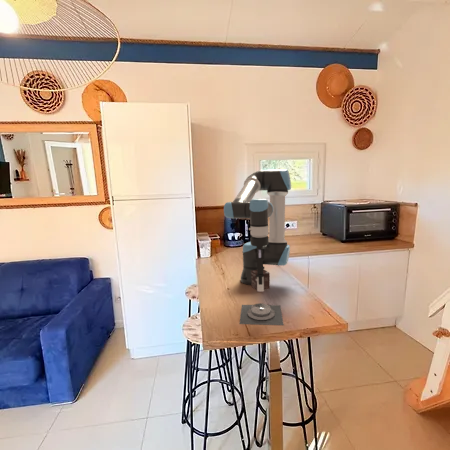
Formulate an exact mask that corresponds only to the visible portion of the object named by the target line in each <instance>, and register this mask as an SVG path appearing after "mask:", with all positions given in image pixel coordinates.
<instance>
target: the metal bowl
mask: <svg viewBox="0 0 450 450" xmlns="http://www.w3.org/2000/svg"><path fill="white" fill-rule="evenodd" d="M252 305H253V306H252V307H251V308H250V309H249V310H248V312H247V314H248V317H249V318H251V319H253V320H257V321H267V320H270V319H272V318H274V316H275V312H274V310H273V309H271V307H270V306H269V305H270V304H267V303H255V304H252Z"/></svg>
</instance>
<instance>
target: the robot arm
mask: <svg viewBox="0 0 450 450" xmlns="http://www.w3.org/2000/svg"><path fill="white" fill-rule="evenodd" d="M291 189H292V182H291V176H290V172H289V170H288V169H286V168H277V169H275V168H274V169H260V170H258V171H255V172H253V173H252V174H250V175H249V176H247V177H246V179H245V180H244V182H243V185H242V187H241V189H240V191H239V192H238V194H237V195H236V197H235V198H234V200H233V201H227V202H225V203H224V206H223V214H224V217H225V218H226V219H249V220H250V221H249V224H250V227H249V228H248V230H249V231H250V232H249V233H250V241H248V242H246V243H244V244H243V245H242V270H241V275H240V282H241V283H242V284H244V285H250V286H251V271H253V270H257V275H255V277H257V290H256V292H265V290H264V275H263V269H264V270H265V266H277V267H280V266H283V267H284V266H286V265H287V264H288V262H289V258H290V253H291V246H290V244H288V241H287V240H286V239H285V237H286V236H285V235H286V234H285V230H286V227H285V225H286V224H285V223H286V196H287V195H288V194H289V191H290V190H291ZM260 191H261V192H263V191H266V194H267V195H268V196H269V201H268V199H267V198H254V197H255V195H256V194H257V193H258V192H260ZM264 265H265V266H264Z"/></svg>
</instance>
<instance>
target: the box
mask: <svg viewBox="0 0 450 450" xmlns="http://www.w3.org/2000/svg"><path fill="white" fill-rule="evenodd" d="M270 274H271V273H270V272H269V271H268V270H266V269H265V268H264V269H263V275H264V291H266V290H270V289H271V288H270V287H271V285H270V284H271V280H270ZM255 275H257V270H253V271H251V285H250V286H251V288H252V289H254V290H255V291H257V277H255Z"/></svg>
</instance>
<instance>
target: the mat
mask: <svg viewBox="0 0 450 450" xmlns="http://www.w3.org/2000/svg"><path fill="white" fill-rule="evenodd" d="M253 305H254V304H241V309H240V316H239V325H252V326H253V325H254V326H255V325H256V326H257V325H259V326H285V324H284V318H283V314H282V308H281V305H279V304H268V305H269V306H270V307H271V309H273V310H274V312H275V316H274V318H272V319H270V320H267V321H257V320H253V319H251V318H249V317H248V314H247V312H248V310H249V309H250V308H251V307H252V306H253Z"/></svg>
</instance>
